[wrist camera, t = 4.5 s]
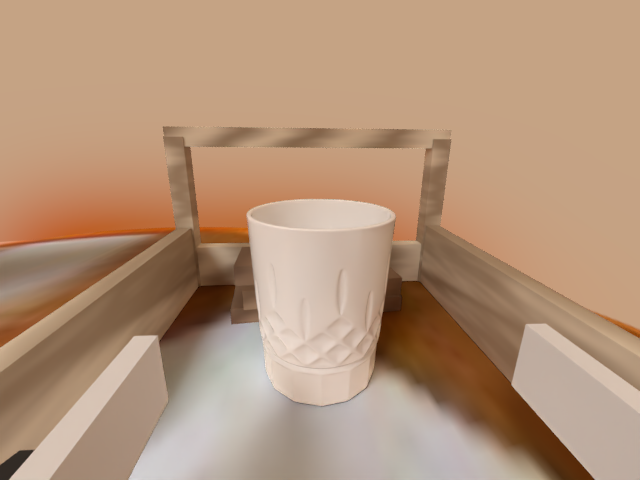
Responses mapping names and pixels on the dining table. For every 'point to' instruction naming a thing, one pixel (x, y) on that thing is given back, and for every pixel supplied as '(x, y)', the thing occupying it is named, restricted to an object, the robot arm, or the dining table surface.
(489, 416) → the dining table surface
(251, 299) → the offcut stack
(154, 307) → the frame
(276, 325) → the white cup
